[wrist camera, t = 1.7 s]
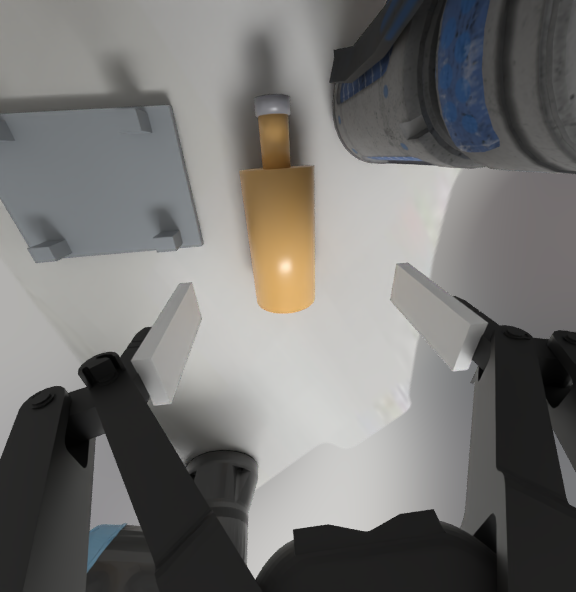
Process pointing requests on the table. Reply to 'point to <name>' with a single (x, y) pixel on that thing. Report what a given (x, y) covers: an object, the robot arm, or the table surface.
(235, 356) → the table surface
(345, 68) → the smoke grenade
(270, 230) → the amber bottle
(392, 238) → the table surface
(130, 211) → the u rest
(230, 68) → the table surface
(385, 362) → the table surface
